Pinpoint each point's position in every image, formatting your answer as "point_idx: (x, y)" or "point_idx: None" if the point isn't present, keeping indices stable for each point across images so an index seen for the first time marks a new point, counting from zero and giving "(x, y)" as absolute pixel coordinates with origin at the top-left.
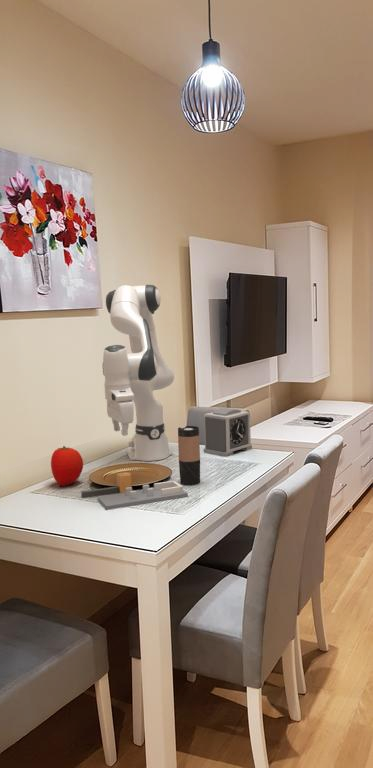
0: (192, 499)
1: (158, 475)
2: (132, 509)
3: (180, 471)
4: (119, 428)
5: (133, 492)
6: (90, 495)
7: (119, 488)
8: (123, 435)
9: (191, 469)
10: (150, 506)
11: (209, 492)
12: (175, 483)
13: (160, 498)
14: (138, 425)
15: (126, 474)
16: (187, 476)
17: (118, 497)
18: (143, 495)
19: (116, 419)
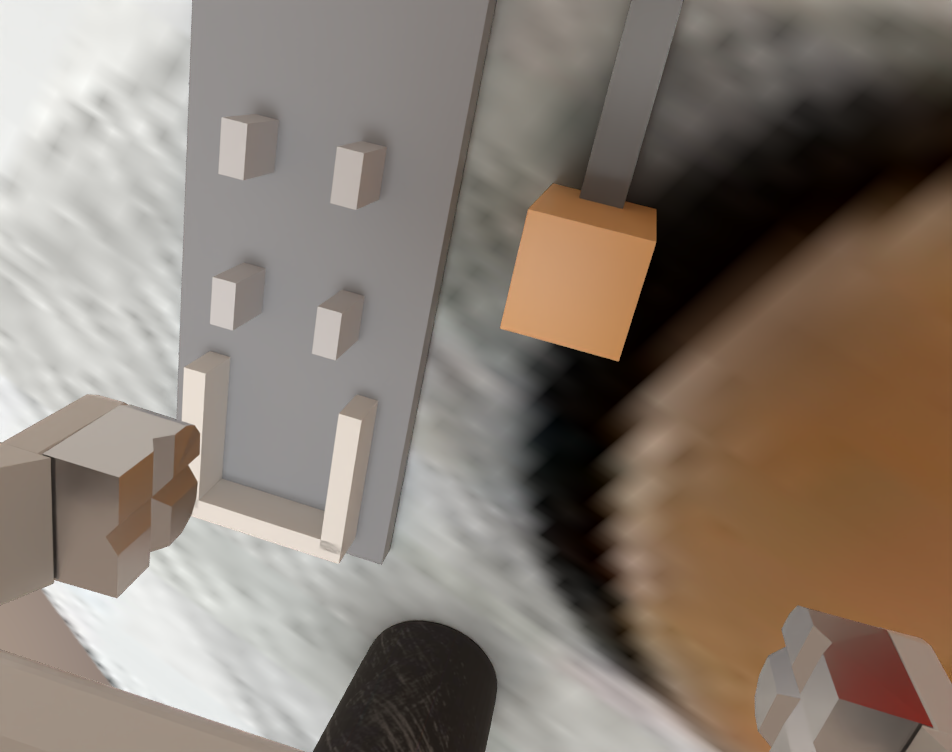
0: None
1: (750, 666)
2: (129, 38)
3: (413, 690)
4: (777, 744)
5: (224, 147)
6: None
7: (578, 196)
8: (98, 402)
9: (324, 730)
10: (128, 188)
11: (194, 611)
12: (270, 524)
13: (184, 315)
14: None
15: (542, 302)
16: (363, 673)
17: (360, 53)
18: (288, 252)
19: (31, 718)
